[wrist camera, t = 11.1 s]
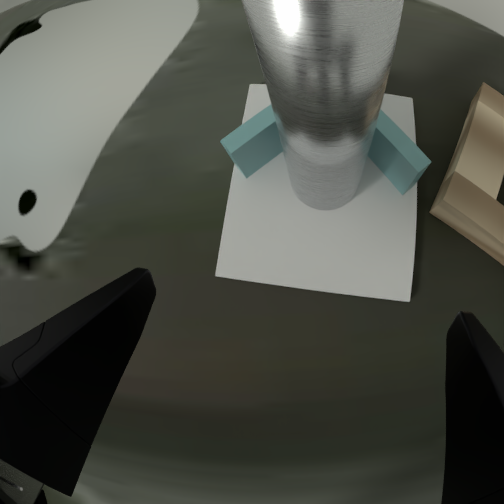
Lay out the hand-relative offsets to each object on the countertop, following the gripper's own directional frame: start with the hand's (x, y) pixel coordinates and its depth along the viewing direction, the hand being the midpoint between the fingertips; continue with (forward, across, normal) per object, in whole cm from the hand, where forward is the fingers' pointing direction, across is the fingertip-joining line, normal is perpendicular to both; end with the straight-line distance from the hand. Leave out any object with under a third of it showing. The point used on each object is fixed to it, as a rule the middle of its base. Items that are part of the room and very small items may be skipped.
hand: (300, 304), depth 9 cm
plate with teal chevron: (+12, 0, +2) cm, 12 cm away
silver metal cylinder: (+11, 0, +1) cm, 11 cm away
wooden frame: (+12, -14, +1) cm, 19 cm away
